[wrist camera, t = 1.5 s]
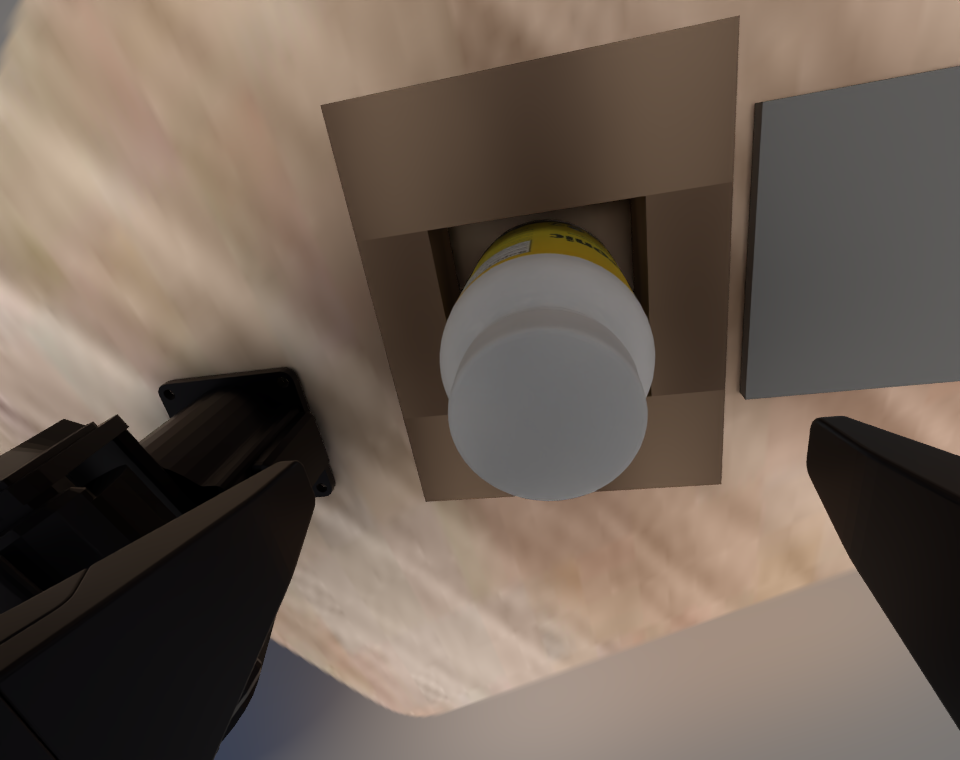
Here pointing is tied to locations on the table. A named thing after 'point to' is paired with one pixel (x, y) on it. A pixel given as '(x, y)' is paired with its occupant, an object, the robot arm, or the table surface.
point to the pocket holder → (552, 186)
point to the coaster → (854, 239)
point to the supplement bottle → (547, 364)
